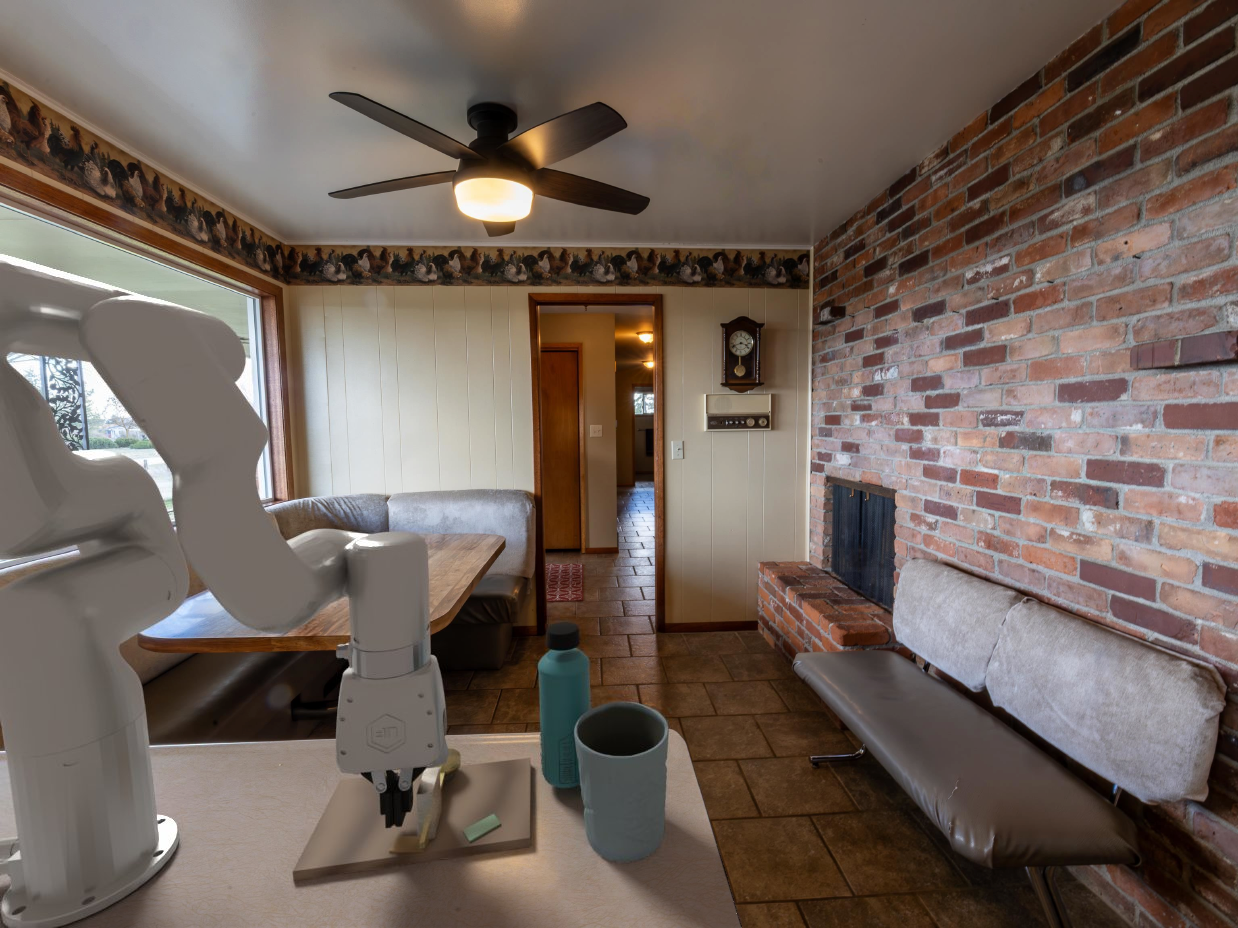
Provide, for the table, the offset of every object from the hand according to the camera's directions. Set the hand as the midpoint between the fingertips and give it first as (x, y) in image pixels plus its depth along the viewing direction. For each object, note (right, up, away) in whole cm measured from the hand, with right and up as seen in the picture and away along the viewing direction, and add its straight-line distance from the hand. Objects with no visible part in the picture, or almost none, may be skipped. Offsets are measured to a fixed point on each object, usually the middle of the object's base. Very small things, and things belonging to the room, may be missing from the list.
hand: (397, 817), depth 56 cm
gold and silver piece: (+3, -1, +4) cm, 5 cm away
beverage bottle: (+17, -2, +9) cm, 19 cm away
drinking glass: (+24, -3, +1) cm, 24 cm away
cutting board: (+2, -2, +4) cm, 5 cm away
